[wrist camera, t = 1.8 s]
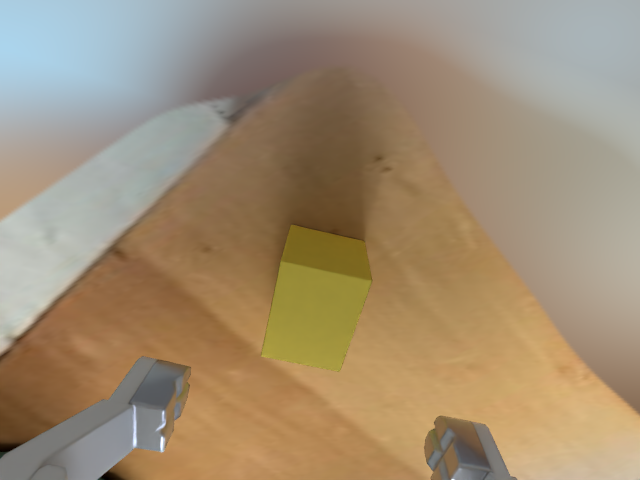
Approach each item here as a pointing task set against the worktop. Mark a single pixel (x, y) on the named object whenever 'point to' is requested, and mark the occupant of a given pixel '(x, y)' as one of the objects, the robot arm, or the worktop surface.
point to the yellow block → (317, 298)
